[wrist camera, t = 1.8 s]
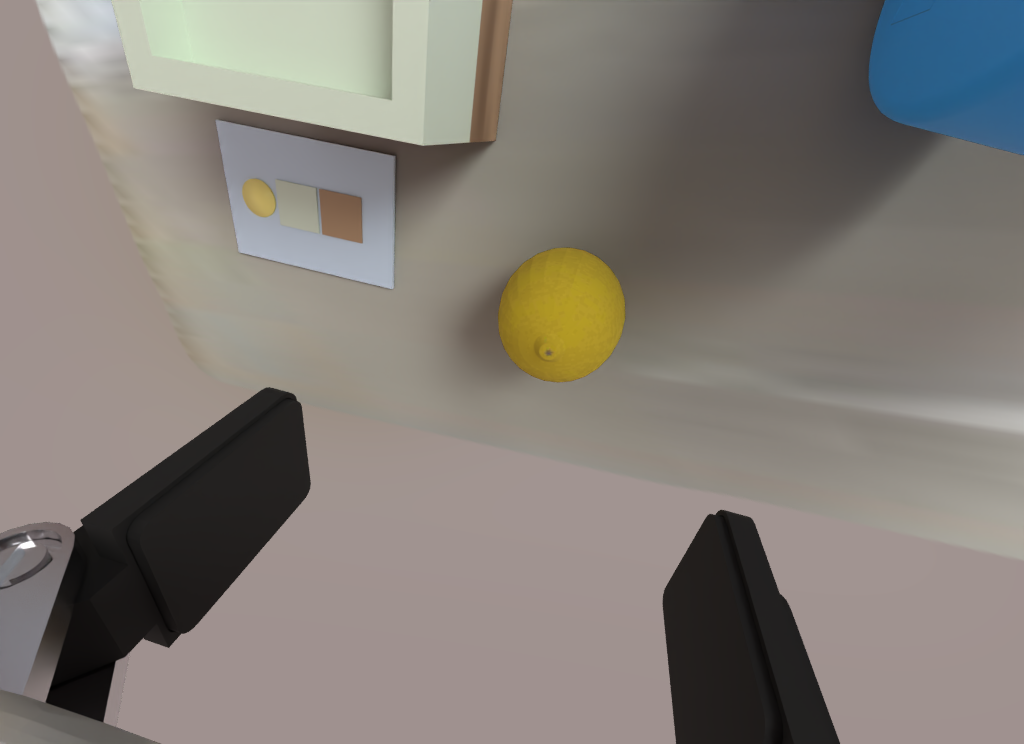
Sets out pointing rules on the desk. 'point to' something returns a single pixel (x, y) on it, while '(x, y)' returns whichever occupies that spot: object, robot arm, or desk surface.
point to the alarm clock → (952, 68)
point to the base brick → (490, 69)
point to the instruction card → (311, 202)
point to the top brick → (314, 60)
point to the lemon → (561, 314)
